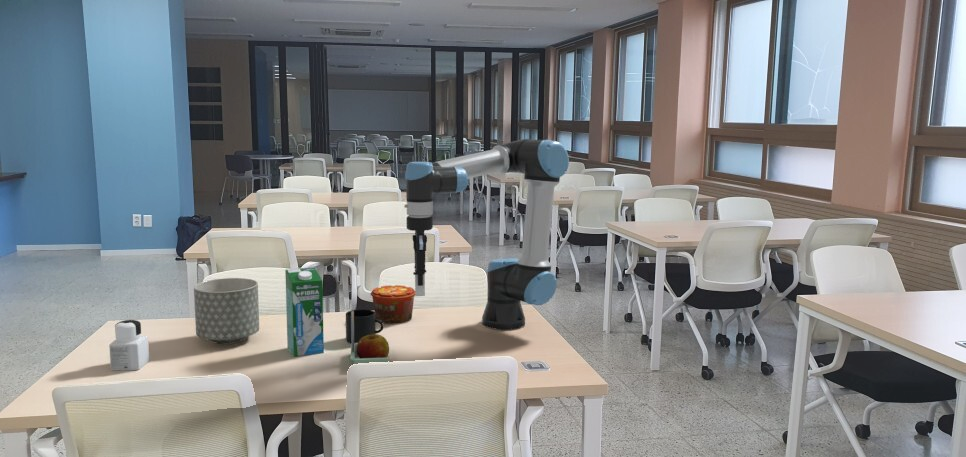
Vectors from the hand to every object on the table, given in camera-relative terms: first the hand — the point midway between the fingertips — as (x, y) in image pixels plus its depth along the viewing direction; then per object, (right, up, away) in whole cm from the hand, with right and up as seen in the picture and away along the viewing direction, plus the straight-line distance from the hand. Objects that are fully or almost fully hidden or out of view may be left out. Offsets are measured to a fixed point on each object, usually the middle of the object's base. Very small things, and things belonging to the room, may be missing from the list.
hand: (420, 295), depth 208 cm
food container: (-13, -13, +45) cm, 49 cm away
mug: (-20, -17, +21) cm, 33 cm away
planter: (-63, -16, +19) cm, 68 cm away
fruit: (-14, -20, +1) cm, 24 cm away
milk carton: (-36, -18, +10) cm, 42 cm away
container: (-82, -20, -5) cm, 85 cm away
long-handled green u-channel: (-15, -20, +1) cm, 25 cm away
